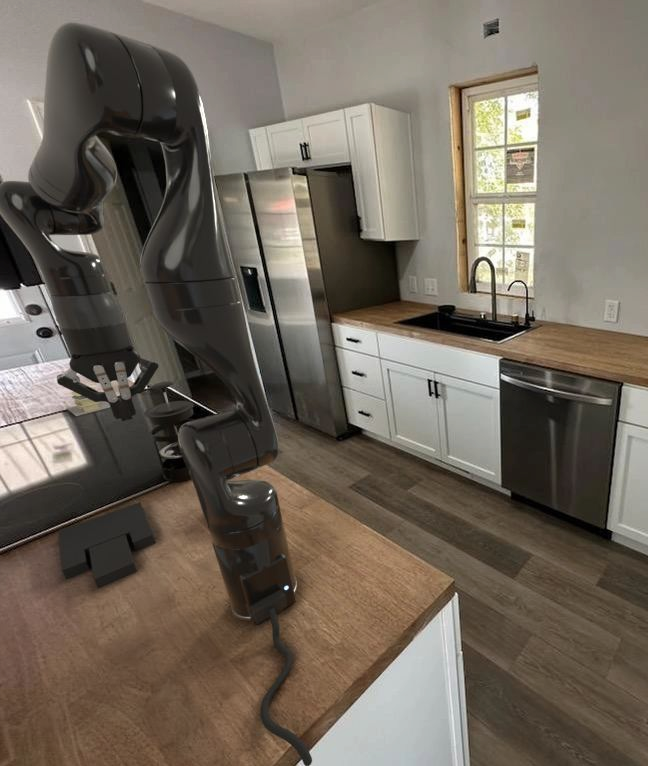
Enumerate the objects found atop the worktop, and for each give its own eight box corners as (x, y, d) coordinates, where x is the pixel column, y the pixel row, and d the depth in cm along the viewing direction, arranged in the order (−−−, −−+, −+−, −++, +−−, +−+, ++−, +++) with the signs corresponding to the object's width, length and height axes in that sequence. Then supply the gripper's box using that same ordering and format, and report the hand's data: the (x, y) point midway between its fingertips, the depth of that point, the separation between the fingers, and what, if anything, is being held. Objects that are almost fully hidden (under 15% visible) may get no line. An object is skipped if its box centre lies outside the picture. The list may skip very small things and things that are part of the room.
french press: (157, 471, 100) (128, 383, 91) (202, 455, 107) (179, 372, 98) (173, 490, 93) (143, 397, 85) (220, 472, 100) (196, 384, 92)
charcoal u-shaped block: (156, 542, 78) (152, 534, 77) (66, 579, 70) (61, 570, 69) (143, 509, 87) (140, 501, 86) (62, 538, 79) (58, 530, 78)
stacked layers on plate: (114, 406, 133) (108, 390, 131) (76, 416, 126) (69, 399, 124) (103, 399, 138) (97, 384, 136) (66, 408, 131) (59, 392, 129)
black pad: (92, 556, 75) (88, 548, 74) (128, 542, 78) (125, 534, 77) (98, 588, 68) (94, 579, 68) (137, 571, 72) (133, 562, 71)
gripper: (30, 332, 59) (74, 439, 65) (150, 319, 68) (178, 414, 74) (30, 323, 63) (71, 423, 69) (142, 312, 72) (169, 401, 79)
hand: (126, 418), depth 72 cm, fingers closed
